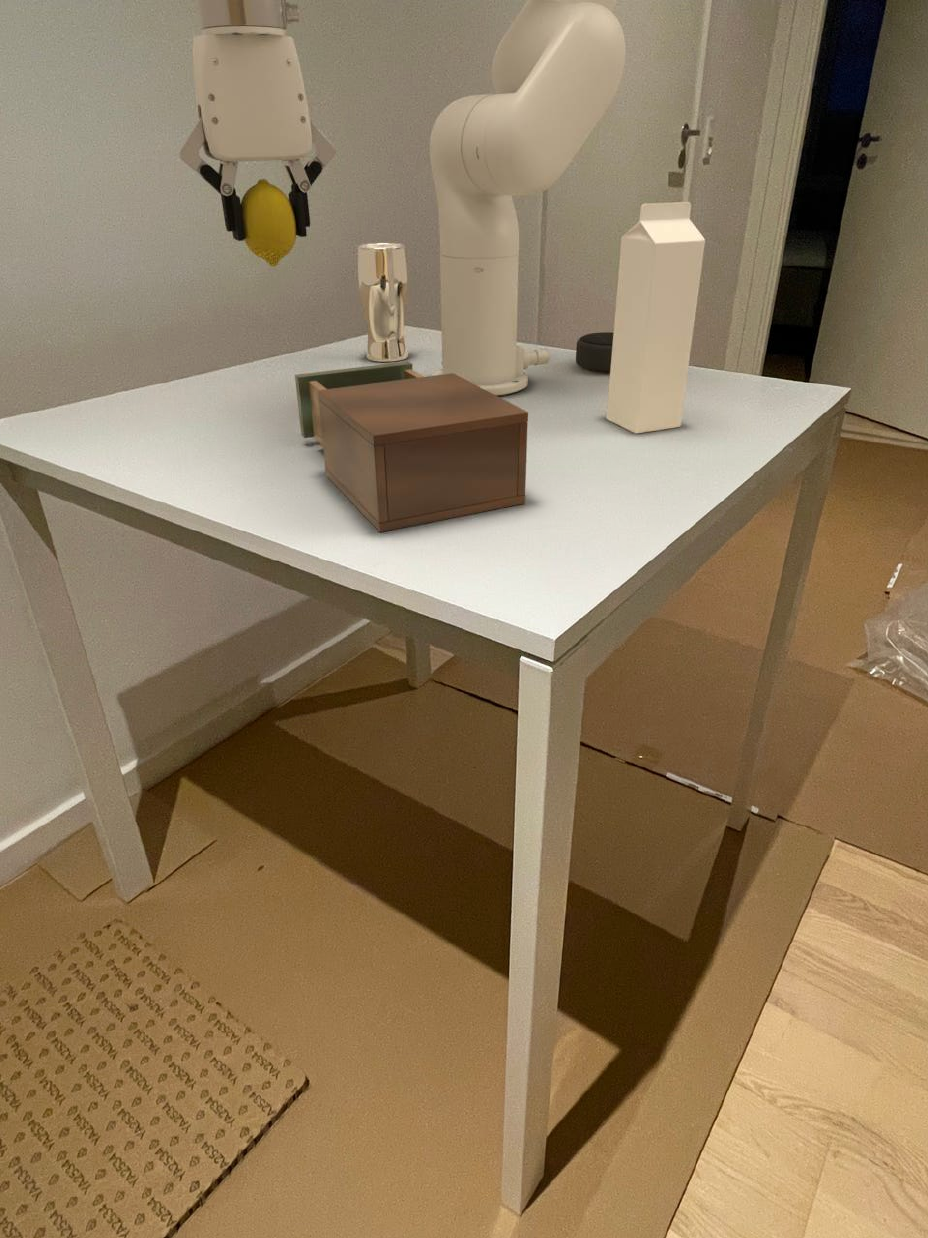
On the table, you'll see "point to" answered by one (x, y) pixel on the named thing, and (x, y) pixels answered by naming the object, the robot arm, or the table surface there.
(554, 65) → the robot arm
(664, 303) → the milk
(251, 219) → the lemon
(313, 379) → the drawer
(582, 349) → the smart speaker
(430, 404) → the cabinet
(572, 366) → the table surface
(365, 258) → the beer glass
